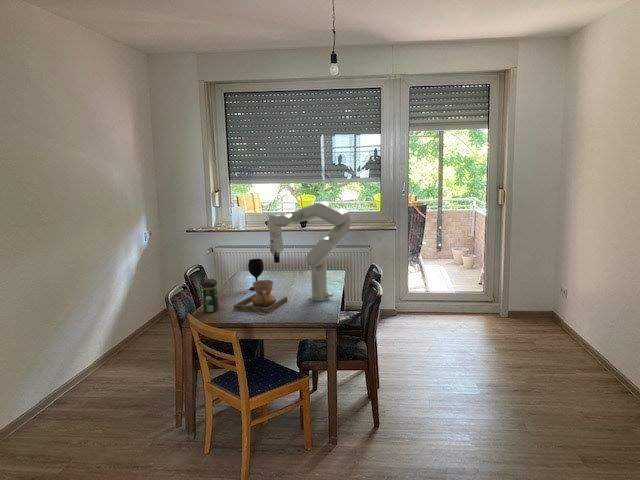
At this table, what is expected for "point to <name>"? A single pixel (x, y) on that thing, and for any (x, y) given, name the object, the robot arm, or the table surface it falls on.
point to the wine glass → (255, 268)
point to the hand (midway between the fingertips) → (276, 262)
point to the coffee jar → (210, 295)
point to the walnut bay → (243, 307)
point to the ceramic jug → (263, 293)
